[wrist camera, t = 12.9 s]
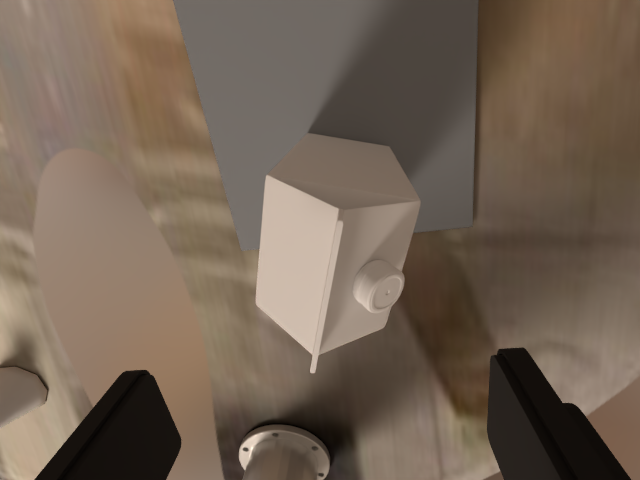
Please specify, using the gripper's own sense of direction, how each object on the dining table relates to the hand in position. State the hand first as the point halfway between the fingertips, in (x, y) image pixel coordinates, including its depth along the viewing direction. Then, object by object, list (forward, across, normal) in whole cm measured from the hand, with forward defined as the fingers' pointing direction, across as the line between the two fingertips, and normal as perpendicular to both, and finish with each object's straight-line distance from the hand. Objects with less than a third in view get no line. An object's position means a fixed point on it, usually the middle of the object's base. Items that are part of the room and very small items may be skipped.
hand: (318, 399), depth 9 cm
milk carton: (+23, 0, -1) cm, 23 cm away
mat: (+24, 0, -9) cm, 25 cm away
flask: (+25, +47, +22) cm, 57 cm away
